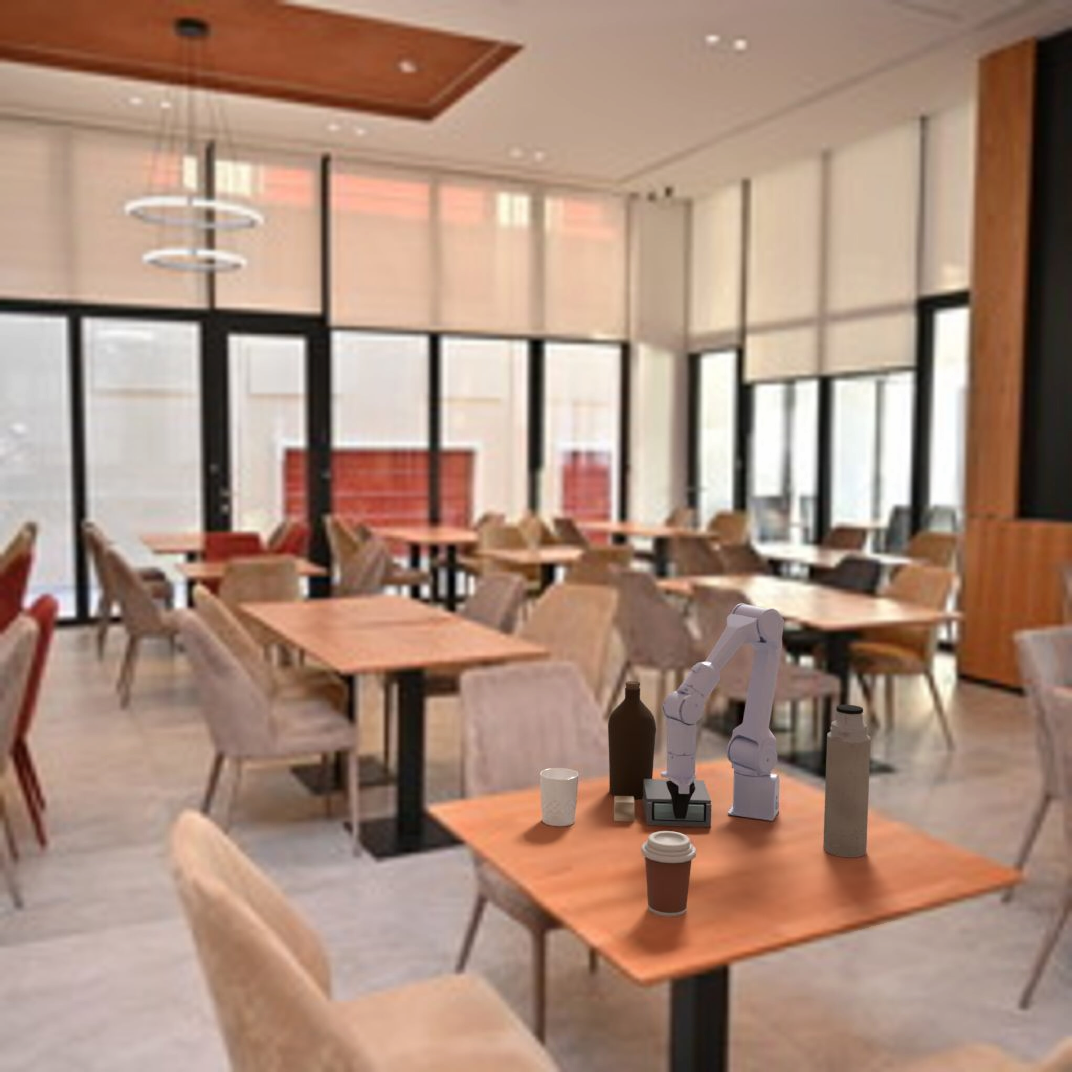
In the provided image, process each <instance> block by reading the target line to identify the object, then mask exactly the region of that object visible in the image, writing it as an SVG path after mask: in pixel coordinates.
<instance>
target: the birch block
mask: <svg viewBox="0 0 1072 1072" xmlns="http://www.w3.org/2000/svg"><path fill="white" fill-rule="evenodd" d="M613 796H614V795H613ZM613 798H614V799H613V819H614V822H632V823H633V822H635V799H634V796H614V797H613Z"/></svg>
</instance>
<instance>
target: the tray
mask: <svg viewBox="0 0 1072 1072" xmlns="http://www.w3.org/2000/svg"><path fill="white" fill-rule="evenodd" d="M652 810H653V815H654V819H662V820H697V821H704V804H701V803H691V804H689V806H688V810H687V815H686V818H685V819H675V816H674V812H673V806H672V804H668V803H664V802H652Z"/></svg>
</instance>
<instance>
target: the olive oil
mask: <svg viewBox="0 0 1072 1072" xmlns="http://www.w3.org/2000/svg"><path fill="white" fill-rule="evenodd" d="M640 687H641V683H640V682H639V681H637V680H636V681H635V680H628V681H626V682H625V688H624V699H623V700H622V701H621V702H620V704H619V705H617V707H616V708H614V710H612V712H611V714H610V716H609V719H608V722H607V735H608V736H607V737H608V738H607V739H608V764H609V765H608V766H609V767H608V768H609V769H608V770H609V771H608V772H609V775H608V776H609V780H608V781H609V793H610V794H611V795H612V796H634V800H639V799H643V779H653V777H654V776H653V775H654V773H653V772H654V760H655V745H656V733H657V723H656V720H655V719H656V718H655V716H654V714H653V713H652V712H651V710H650V709H649V708H648V707H647V705H646V704H644V702H643V701H642V700H641V688H640Z"/></svg>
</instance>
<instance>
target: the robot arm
mask: <svg viewBox="0 0 1072 1072" xmlns="http://www.w3.org/2000/svg"><path fill="white" fill-rule="evenodd" d="M784 626H785V620H784V618H783V617H782V615H781V614H780V612H779V611H778V610H777V609H775V608H771V607H762V606H756V605H752V604H747V603H743V602H742V603H738V604H736V605H735V606H734V607H733V608H732V610H731V613H729V615H728V616H727V617H726V627H725V628H724V631H723V632H722V633H721V636H720V637H719V639H718V640H717V642H716V644H715V645H714V646H713V648H712V650H711V651H710V653H709V655H708V656H707V658H706V659H705V661H701V662H700V661H699V662H697V663H696V664H695V665H694V664H693V666H692V667H691V668H690V672H689V673H688V674H687V676H686V678H685V679H684V680H683V682H682V683H681V684H680V686H679V687H678V688H677V689H676V690H674V691H673V692H670V693H669V694H668V695H666V696H665V699H664V701H663V704H662V705H661V711H662V714H663V716H664V718H665V724H666V726H667V741H666V742H667V744H666V748H667V749H666V751H667V752H666V770H665V771H660V777H661V778H665V779H669V780H670V781H666V784H667V788H668V790H669V792H670V795H671V799H672V806H673V812H674V816H675V819H685V818H686V815H687V810H688V806H689V802H690V799H691V797H692V795H693V793H694V791H695V786H694V785H695V784H694V780H697V773H696V756H697V722H699V721H700V719H702V717H703V715H704V710H705V709H704V708H705V706H706V702H707V701H706V700H708V697H709V696H710V695H711V693H712V692H713V690H714V689H715V688H716V686H717V685H718V683H719V682H720V680H721V675H720V671H721V670H722V668H723V667H724V666H725V665H726V664H727V663H728V661H730V659H731V658H732V657H733V656H734V654H735V653H736V652H737V651H738V649H739V648H740V647H741V646H742V645H744V644H750V646H751V647H752V648H753V650H754V652H753V659H752V665H751V671H750V678H749V682H748V689H747V695H746V701H745V706H744V707H745V708H744V712H743V719H742V723H741V724H739V725H738V726H736V727H735V728H734V729H733V730H732V734H731V737H730V740H729V742H728V744H727V746H726V758H727V760H728V761H729V762H730V763H731V768H732V769H733V784H732V785H733V788H732V789H733V790H732V791H733V792H732V795H733V796H732V797H733V798H732V806H731V807H730V808H729V810H728V811H727V815H729V816H734V817H735V816H736V817H742V818H750V819H755V820H756V819H757V820H763V821H771V822H772V821H774V819H775V818H776V816H777V815H778V813H779V811H780V807H779V806H780V803H779V802H780V775H779V774H778V773H777V774H775V773H772V772H773V770H774V769H775V767H776V765H777V761H778V752H777V743H778V740H777V738H776V737H775V735H774V734H773V732H772V731H771V729H770V722H771V717H772V712H773V711H772V710H773V704H774V698H775V692H776V685H777V680H778V675H779V674H778V673H779V669H780V662H781V657H782V651H783V632H784Z"/></svg>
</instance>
